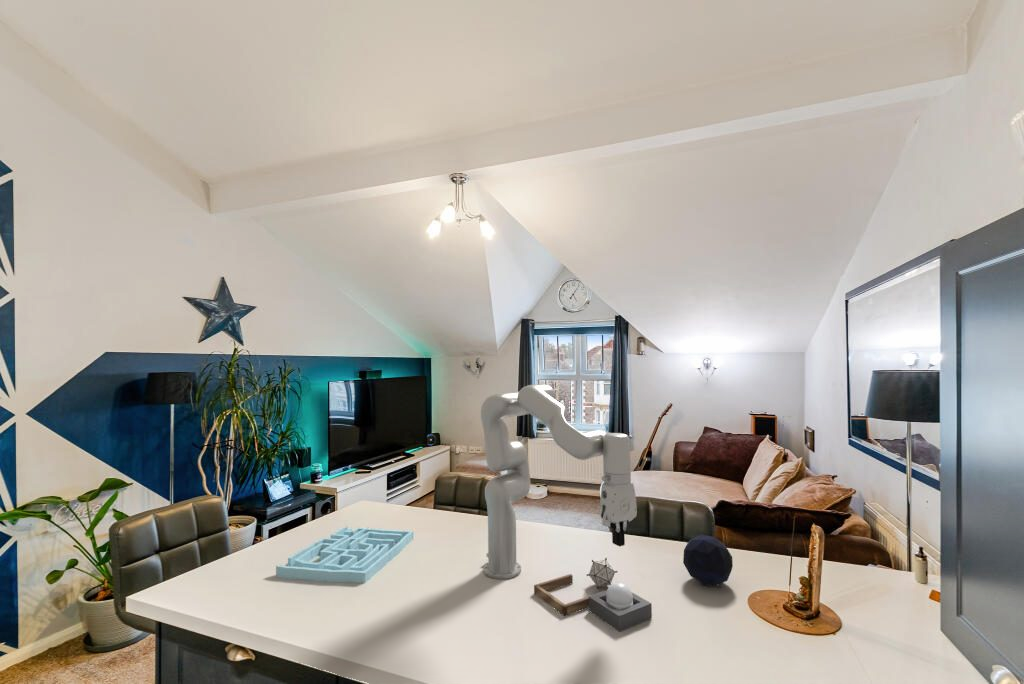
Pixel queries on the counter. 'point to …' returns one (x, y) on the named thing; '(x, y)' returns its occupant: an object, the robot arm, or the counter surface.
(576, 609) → the walnut bay
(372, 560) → the maze
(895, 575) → the counter surface
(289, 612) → the counter surface
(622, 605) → the dome
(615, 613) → the dome base
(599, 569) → the game die
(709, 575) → the decorative orb
